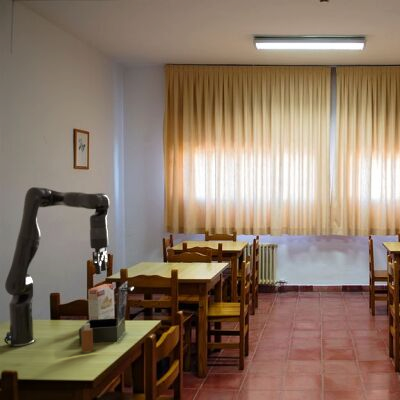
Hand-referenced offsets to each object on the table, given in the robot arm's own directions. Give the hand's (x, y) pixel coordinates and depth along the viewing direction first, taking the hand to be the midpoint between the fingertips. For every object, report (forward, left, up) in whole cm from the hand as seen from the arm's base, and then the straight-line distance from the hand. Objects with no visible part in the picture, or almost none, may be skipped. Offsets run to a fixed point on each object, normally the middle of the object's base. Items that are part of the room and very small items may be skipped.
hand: (101, 272), depth 228 cm
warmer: (+1, +12, -35) cm, 37 cm away
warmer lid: (+9, +9, -17) cm, 21 cm away
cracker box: (+3, +37, -35) cm, 51 cm away
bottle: (-7, -3, -35) cm, 35 cm away
